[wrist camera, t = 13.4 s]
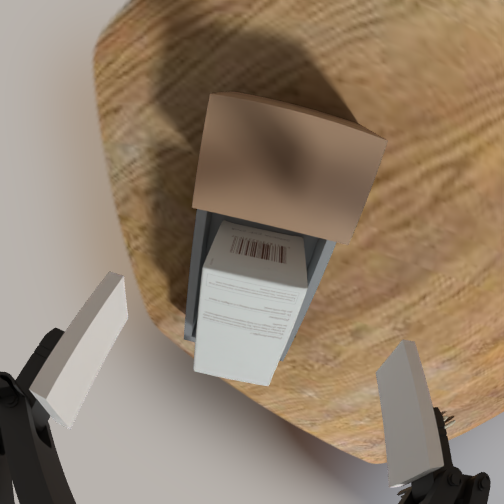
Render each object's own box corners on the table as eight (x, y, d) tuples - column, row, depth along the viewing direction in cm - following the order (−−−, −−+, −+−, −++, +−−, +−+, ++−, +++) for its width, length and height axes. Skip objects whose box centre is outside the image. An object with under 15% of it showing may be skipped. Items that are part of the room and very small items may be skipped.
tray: (209, 178, 24) (199, 191, 21) (336, 209, 24) (342, 225, 22) (190, 319, 33) (183, 339, 30) (283, 340, 33) (282, 361, 31)
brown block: (231, 91, 20) (210, 93, 14) (358, 124, 20) (387, 140, 14) (216, 173, 24) (192, 207, 18) (333, 202, 24) (348, 245, 18)
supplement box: (221, 217, 25) (206, 319, 32) (200, 266, 19) (191, 373, 26) (305, 235, 25) (272, 333, 32) (312, 289, 19) (268, 388, 26)
